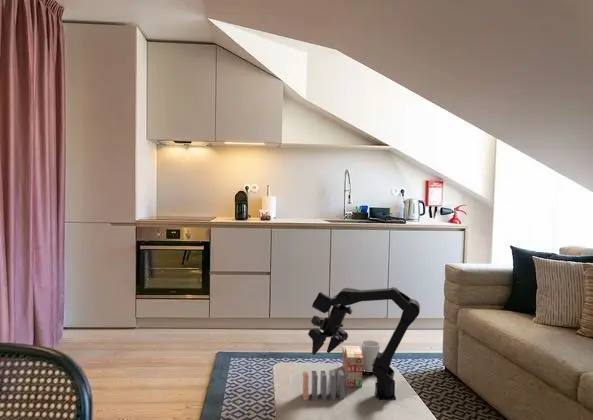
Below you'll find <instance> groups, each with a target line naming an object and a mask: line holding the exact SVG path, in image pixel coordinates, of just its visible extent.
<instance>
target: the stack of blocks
mask: <svg viewBox="0 0 593 420" xmlns="http://www.w3.org/2000/svg"><path fill="white" fill-rule="evenodd" d="M342 367H343V369H342V371H343V373H344V375H345V383H346V387H349V388H353V387H354V388H357V387H358V388H363V380H364V379H363V373H364V372H363V356H362V349H361V347H360V346H358V345H357V346H356V345H342Z"/></svg>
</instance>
